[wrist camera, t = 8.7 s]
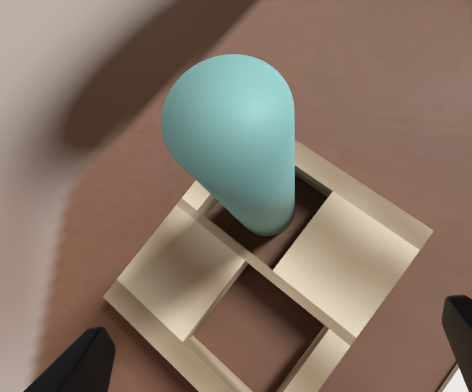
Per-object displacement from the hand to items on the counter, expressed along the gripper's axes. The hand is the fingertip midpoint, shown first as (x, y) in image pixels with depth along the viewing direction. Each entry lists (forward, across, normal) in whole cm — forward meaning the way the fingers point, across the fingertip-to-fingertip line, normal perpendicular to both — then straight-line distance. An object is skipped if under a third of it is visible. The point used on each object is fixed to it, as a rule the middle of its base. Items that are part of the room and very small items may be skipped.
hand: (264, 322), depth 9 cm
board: (+9, +1, +7) cm, 12 cm away
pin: (+12, 0, +4) cm, 13 cm away
